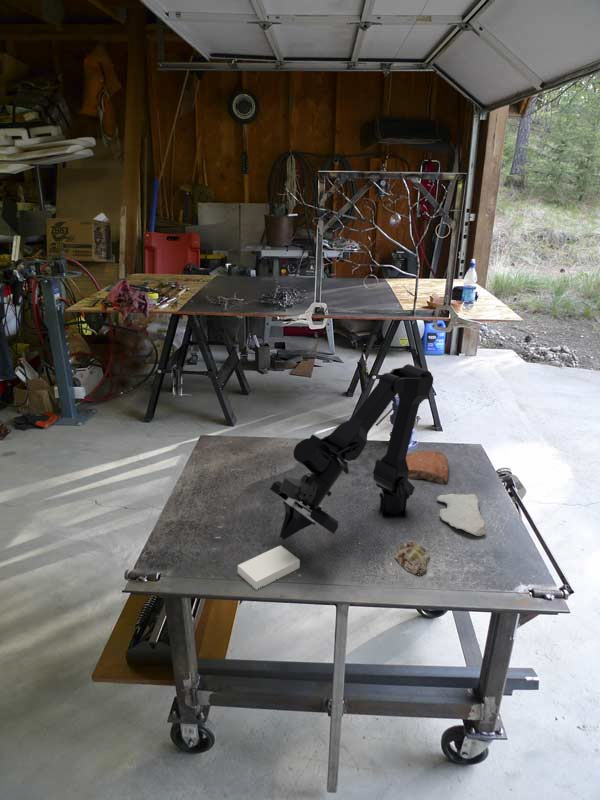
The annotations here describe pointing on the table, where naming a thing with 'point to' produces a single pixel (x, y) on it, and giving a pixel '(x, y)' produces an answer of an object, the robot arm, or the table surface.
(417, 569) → the mineral rock
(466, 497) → the stone
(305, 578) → the table surface
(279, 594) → the table surface
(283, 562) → the tile
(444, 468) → the ceramic shard
